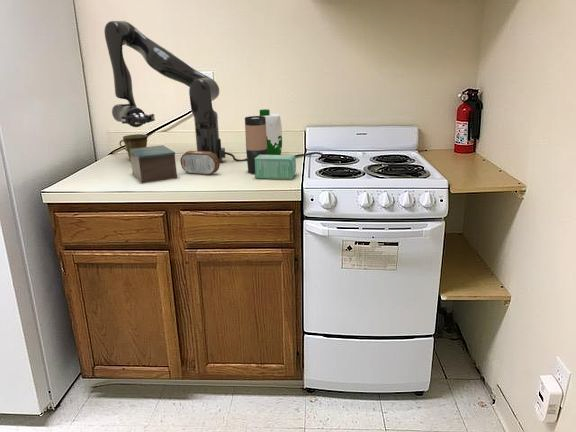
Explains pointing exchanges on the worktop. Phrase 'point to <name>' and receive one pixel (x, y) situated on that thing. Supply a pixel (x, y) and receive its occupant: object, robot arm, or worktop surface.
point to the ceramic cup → (134, 142)
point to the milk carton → (273, 132)
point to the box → (275, 166)
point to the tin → (200, 162)
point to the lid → (152, 151)
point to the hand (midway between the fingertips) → (143, 121)
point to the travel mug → (255, 139)
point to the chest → (153, 168)
